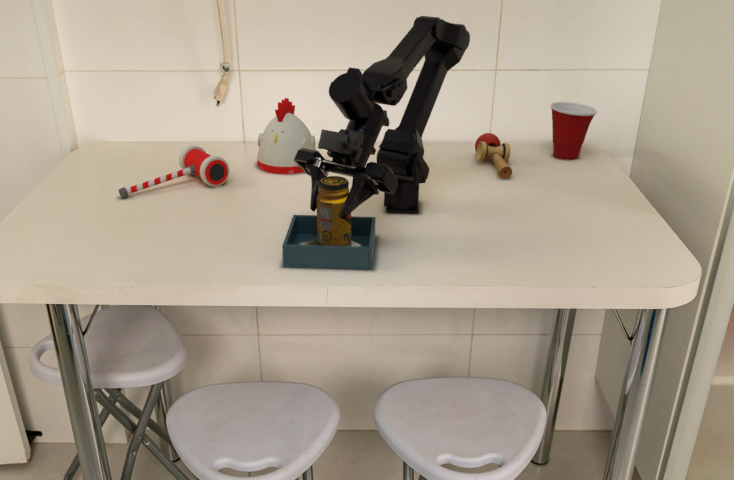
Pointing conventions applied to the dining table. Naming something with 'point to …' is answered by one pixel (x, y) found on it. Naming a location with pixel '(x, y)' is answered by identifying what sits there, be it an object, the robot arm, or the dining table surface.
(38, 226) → the dining table surface
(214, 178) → the toy hammer
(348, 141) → the robot arm
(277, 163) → the kitchen timer
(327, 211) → the condiment
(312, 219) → the tote
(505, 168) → the kendama
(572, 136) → the plastic cup
